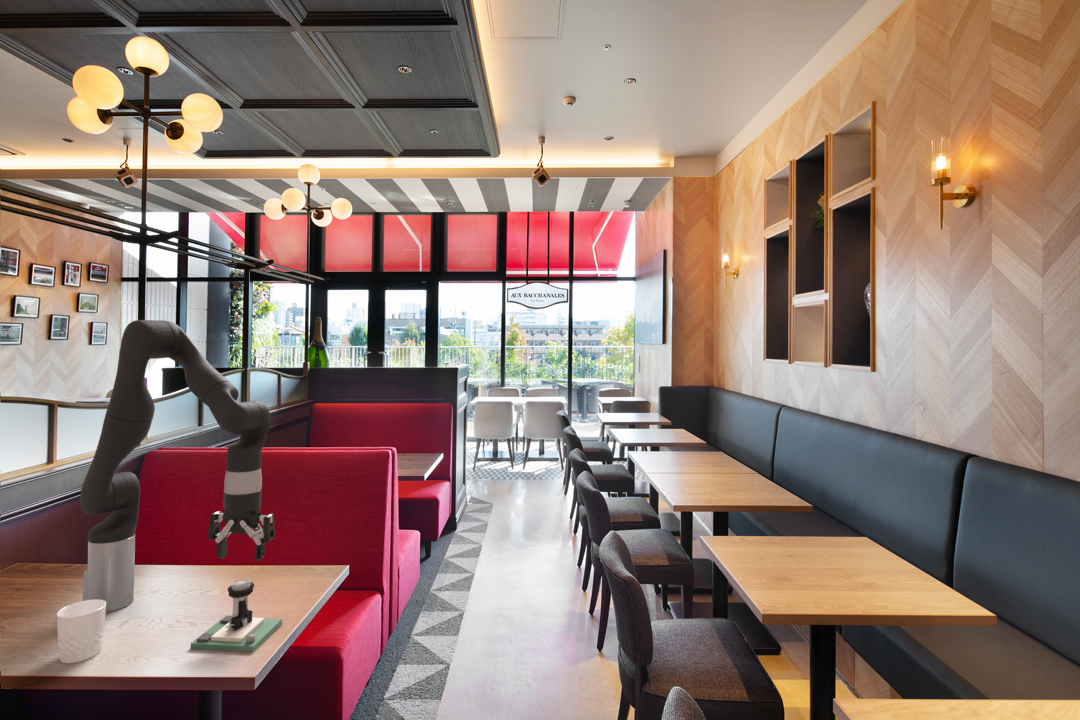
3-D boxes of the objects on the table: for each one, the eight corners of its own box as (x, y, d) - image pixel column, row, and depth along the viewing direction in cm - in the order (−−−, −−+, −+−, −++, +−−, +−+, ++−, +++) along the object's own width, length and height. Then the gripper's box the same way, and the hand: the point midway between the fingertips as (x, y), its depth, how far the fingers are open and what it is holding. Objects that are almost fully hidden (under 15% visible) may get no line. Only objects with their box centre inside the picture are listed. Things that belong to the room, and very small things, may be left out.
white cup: (75, 644, 115) (77, 599, 115) (114, 644, 115) (115, 599, 115) (45, 666, 107) (46, 617, 107) (86, 665, 107) (87, 617, 107)
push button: (236, 636, 116) (237, 591, 116) (216, 632, 117) (217, 588, 117) (258, 621, 123) (259, 579, 123) (239, 618, 124) (240, 576, 124)
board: (190, 648, 114) (190, 637, 114) (225, 621, 126) (225, 611, 126) (253, 651, 114) (253, 641, 114) (282, 623, 126) (282, 613, 126)
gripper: (201, 491, 116) (199, 563, 117) (264, 494, 116) (261, 567, 116) (223, 483, 124) (220, 551, 124) (282, 486, 123) (279, 554, 124)
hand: (240, 558), depth 120 cm, fingers open, 8 cm apart
